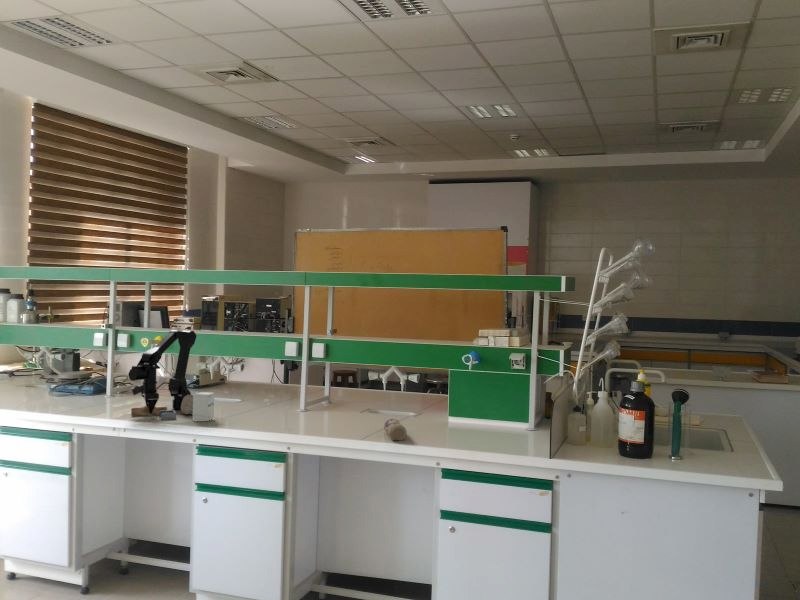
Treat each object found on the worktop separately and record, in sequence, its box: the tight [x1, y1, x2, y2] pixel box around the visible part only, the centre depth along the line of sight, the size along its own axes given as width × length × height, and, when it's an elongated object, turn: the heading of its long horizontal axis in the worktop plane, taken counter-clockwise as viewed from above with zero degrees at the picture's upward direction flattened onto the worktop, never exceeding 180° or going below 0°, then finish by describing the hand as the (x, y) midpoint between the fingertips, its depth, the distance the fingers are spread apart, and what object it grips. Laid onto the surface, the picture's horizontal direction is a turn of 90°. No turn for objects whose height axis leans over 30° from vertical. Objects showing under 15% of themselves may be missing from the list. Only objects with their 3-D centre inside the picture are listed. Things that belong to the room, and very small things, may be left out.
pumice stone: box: [180, 394, 193, 416], centre depth 352 cm, size 15×8×10 cm, turn 73°
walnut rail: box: [130, 405, 168, 417], centre depth 349 cm, size 16×4×4 cm, turn 109°
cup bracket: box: [158, 409, 177, 421], centre depth 341 cm, size 7×7×3 cm
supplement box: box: [192, 391, 215, 422], centre depth 337 cm, size 7×7×13 cm
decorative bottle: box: [383, 418, 407, 441], centre depth 314 cm, size 26×8×7 cm, turn 9°
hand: (149, 411), depth 349 cm, fingers open, 9 cm apart
